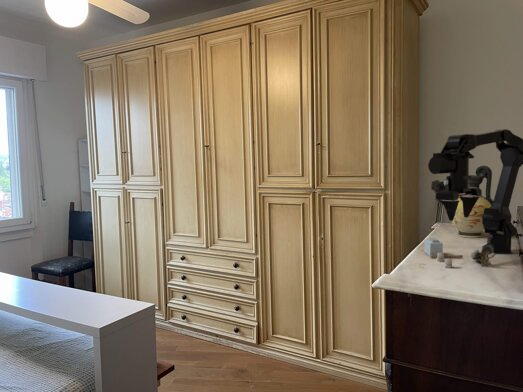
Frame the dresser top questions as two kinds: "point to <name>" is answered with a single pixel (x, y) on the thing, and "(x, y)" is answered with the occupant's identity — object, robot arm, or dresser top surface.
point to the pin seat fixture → (447, 261)
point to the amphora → (473, 223)
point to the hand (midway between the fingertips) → (458, 219)
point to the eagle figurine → (484, 254)
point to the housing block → (433, 246)
